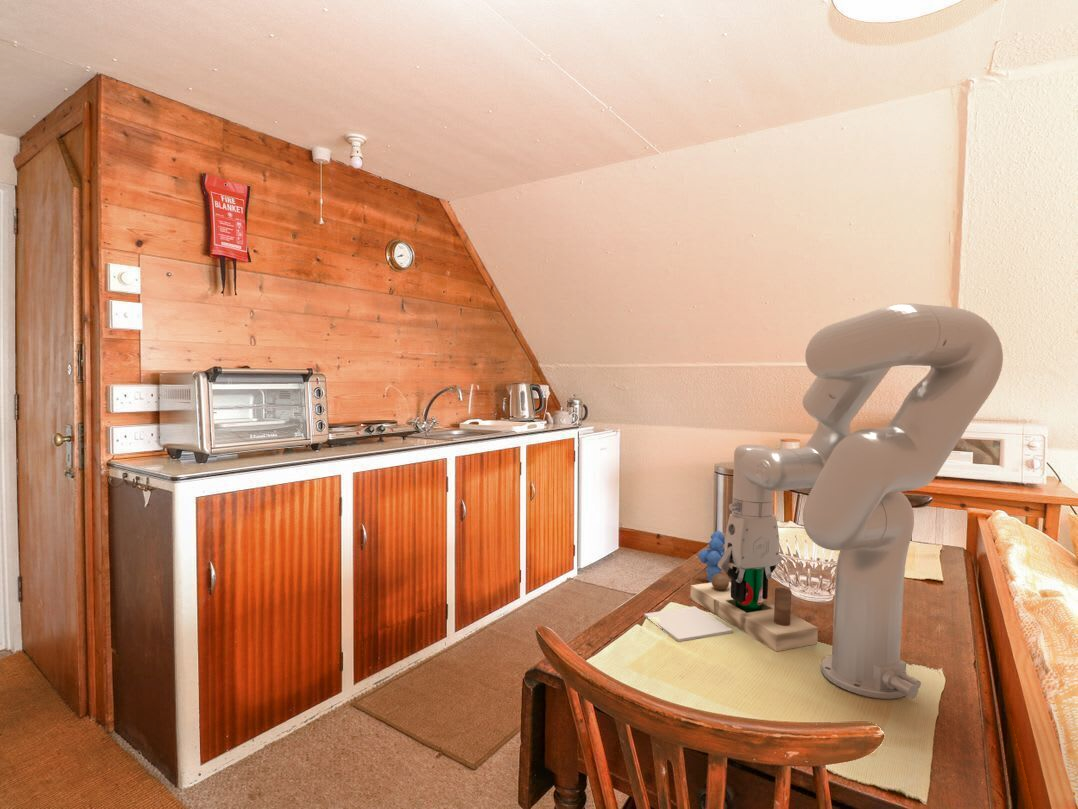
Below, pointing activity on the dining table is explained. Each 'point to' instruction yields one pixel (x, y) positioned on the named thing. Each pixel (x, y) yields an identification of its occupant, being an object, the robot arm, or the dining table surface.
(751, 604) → the soda can
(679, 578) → the dining table surface
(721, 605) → the wooden holder block
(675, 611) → the mat
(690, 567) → the dining table surface
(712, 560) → the grapes
